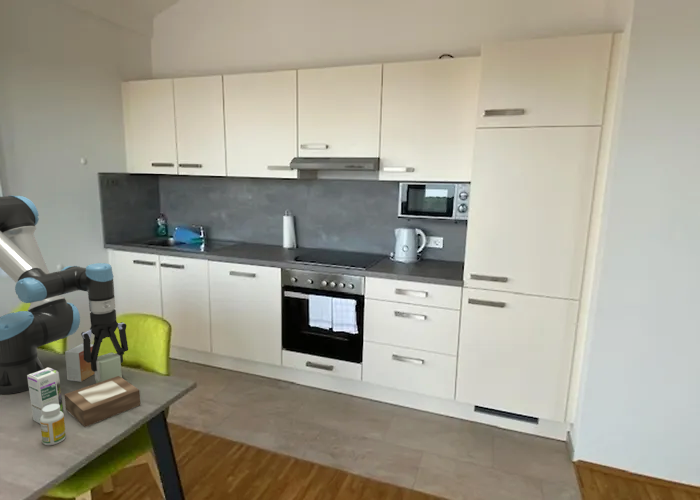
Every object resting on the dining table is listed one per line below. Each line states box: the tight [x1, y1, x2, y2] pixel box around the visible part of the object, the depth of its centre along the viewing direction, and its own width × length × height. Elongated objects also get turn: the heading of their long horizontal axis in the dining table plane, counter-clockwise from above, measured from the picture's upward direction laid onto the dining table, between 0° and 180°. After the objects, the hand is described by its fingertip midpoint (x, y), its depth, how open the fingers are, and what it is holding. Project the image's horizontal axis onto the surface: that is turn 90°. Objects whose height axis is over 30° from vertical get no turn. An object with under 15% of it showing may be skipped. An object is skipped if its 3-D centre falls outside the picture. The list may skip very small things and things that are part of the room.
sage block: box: [95, 352, 123, 384], centre depth 154 cm, size 6×6×9 cm
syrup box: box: [27, 367, 65, 425], centre depth 132 cm, size 6×6×14 cm
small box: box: [64, 342, 95, 383], centre depth 158 cm, size 8×6×10 cm
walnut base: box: [64, 376, 141, 428], centre depth 139 cm, size 14×16×5 cm
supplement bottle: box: [39, 404, 67, 446], centre depth 123 cm, size 5×5×10 cm
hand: (108, 375), depth 155 cm, fingers closed on sage block, 6 cm apart
